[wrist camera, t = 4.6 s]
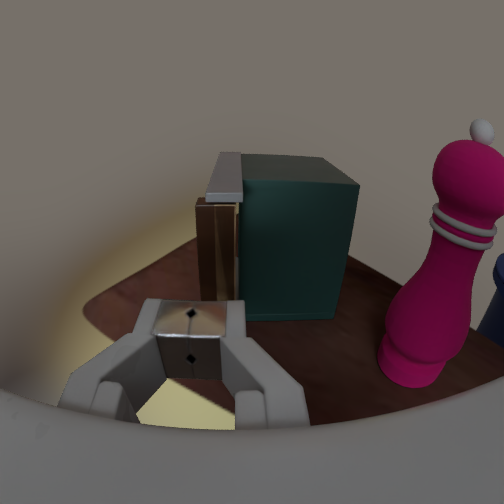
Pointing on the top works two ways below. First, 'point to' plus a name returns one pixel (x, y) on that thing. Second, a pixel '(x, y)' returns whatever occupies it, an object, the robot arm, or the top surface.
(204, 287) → the sliding door
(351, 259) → the top surface
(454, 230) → the pepper mill
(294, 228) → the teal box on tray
